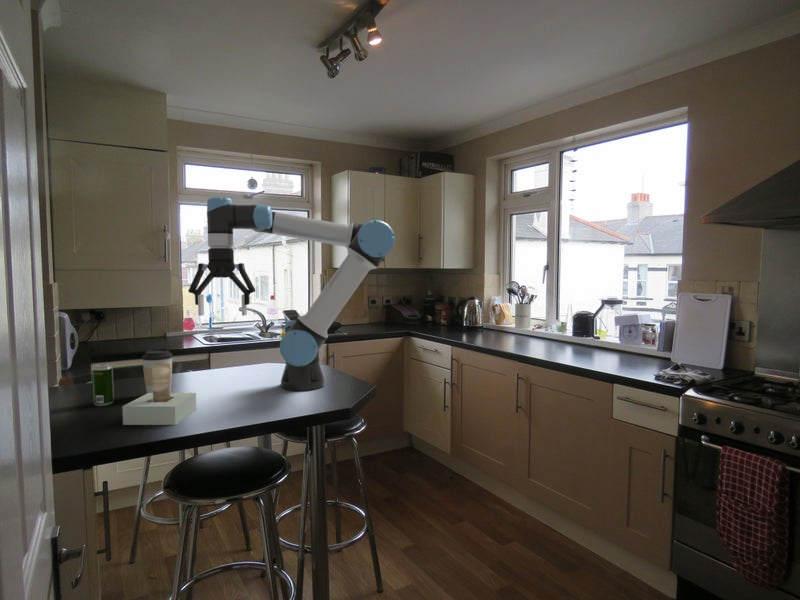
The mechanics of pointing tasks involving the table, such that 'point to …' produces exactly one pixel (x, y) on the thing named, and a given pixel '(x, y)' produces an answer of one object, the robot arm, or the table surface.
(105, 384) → the beer can
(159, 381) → the beech pin
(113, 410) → the table surface
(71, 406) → the table surface
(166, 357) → the coffee cup
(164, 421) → the bore block
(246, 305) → the robot arm
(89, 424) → the table surface
